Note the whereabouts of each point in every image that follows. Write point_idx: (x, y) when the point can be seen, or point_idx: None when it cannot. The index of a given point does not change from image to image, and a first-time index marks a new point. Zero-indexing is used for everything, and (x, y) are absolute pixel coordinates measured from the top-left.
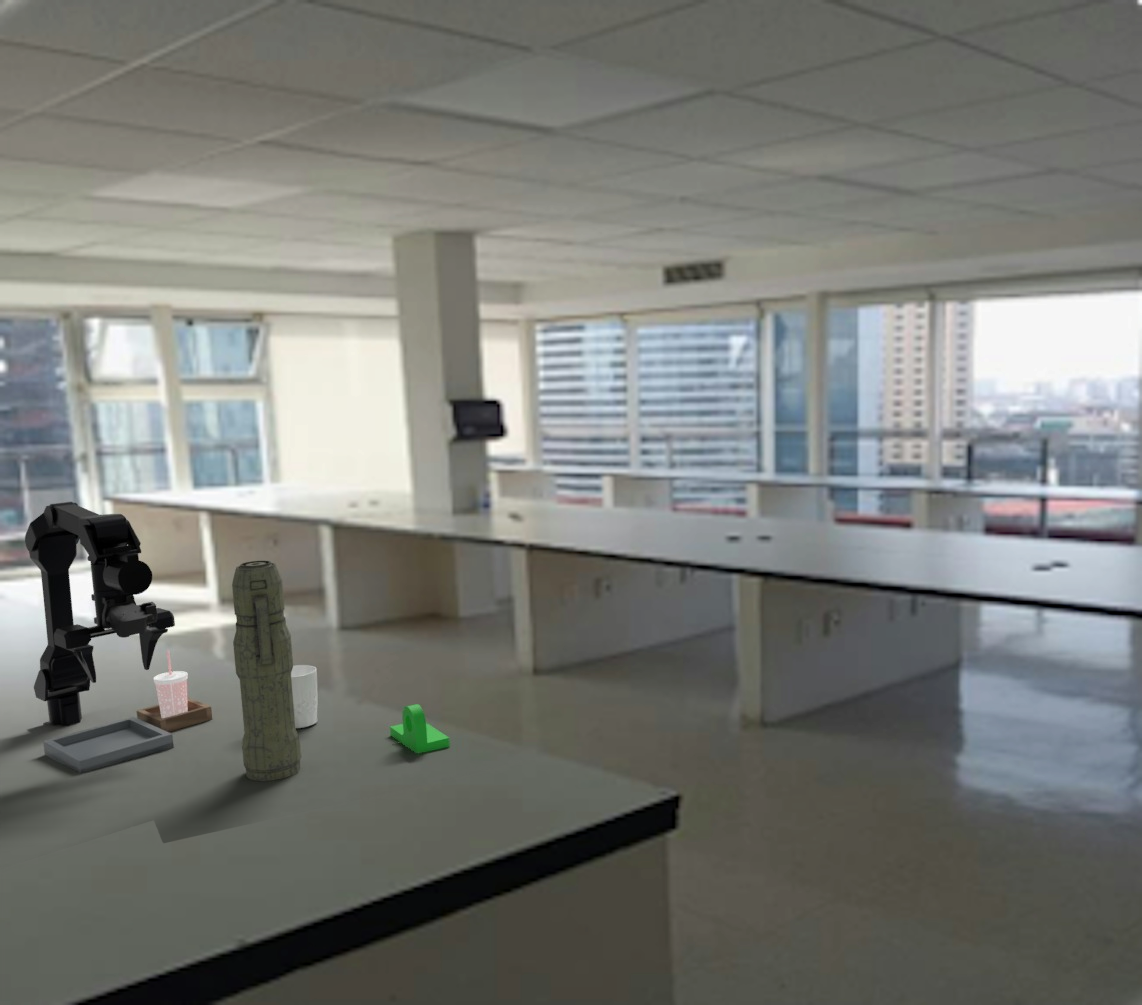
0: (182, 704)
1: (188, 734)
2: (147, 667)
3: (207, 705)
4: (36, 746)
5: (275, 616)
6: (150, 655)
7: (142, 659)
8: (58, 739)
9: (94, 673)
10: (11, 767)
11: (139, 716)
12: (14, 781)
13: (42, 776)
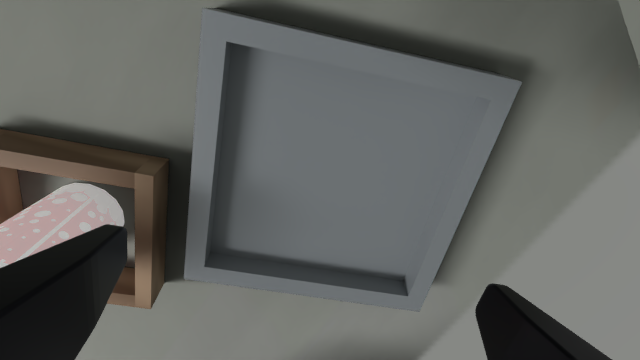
0: (36, 208)
1: (116, 75)
2: (111, 232)
3: None
4: (378, 339)
5: None
6: (1, 284)
7: (88, 331)
8: (394, 293)
9: (545, 326)
10: (491, 280)
11: (156, 286)
12: (564, 200)
13: (523, 168)
